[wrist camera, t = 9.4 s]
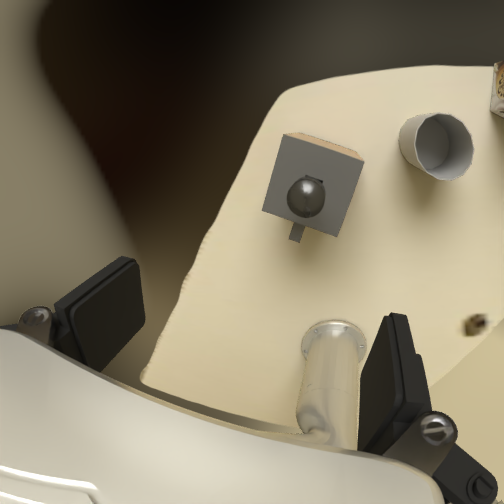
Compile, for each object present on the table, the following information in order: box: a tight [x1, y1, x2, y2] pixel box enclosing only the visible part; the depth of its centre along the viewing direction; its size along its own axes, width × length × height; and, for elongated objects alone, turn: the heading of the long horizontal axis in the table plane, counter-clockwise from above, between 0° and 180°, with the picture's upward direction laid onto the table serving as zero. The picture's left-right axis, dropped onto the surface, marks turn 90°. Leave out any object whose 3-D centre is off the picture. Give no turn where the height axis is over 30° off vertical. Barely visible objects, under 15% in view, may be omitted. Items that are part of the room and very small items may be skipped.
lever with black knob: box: [287, 175, 326, 218], centre depth 34 cm, size 6×6×17 cm
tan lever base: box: [262, 133, 364, 243], centre depth 39 cm, size 12×9×14 cm
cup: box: [398, 113, 474, 181], centre depth 34 cm, size 8×8×10 cm
